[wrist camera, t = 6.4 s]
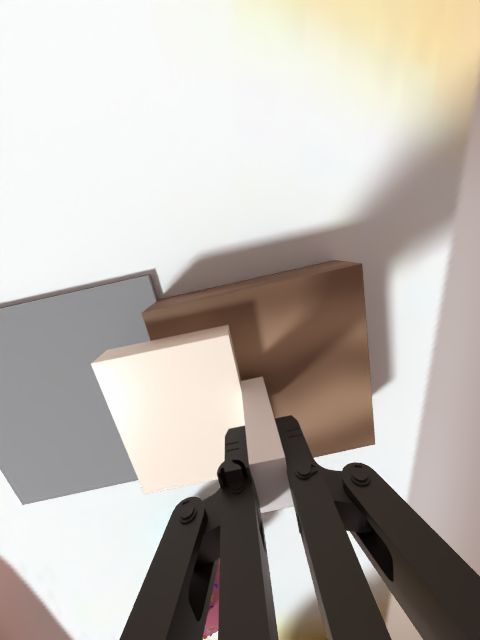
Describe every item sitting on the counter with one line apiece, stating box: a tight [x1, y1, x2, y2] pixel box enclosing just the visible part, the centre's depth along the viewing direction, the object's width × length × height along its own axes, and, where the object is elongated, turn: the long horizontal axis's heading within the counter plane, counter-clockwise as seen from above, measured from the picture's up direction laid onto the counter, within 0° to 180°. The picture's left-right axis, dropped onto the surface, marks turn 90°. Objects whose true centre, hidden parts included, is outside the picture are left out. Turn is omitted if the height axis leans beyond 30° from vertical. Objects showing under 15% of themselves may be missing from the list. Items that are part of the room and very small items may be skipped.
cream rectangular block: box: [91, 325, 245, 494], centre depth 17 cm, size 10×8×2 cm
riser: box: [141, 260, 375, 458], centre depth 19 cm, size 14×14×4 cm
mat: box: [0, 275, 158, 505], centre depth 21 cm, size 18×18×1 cm
